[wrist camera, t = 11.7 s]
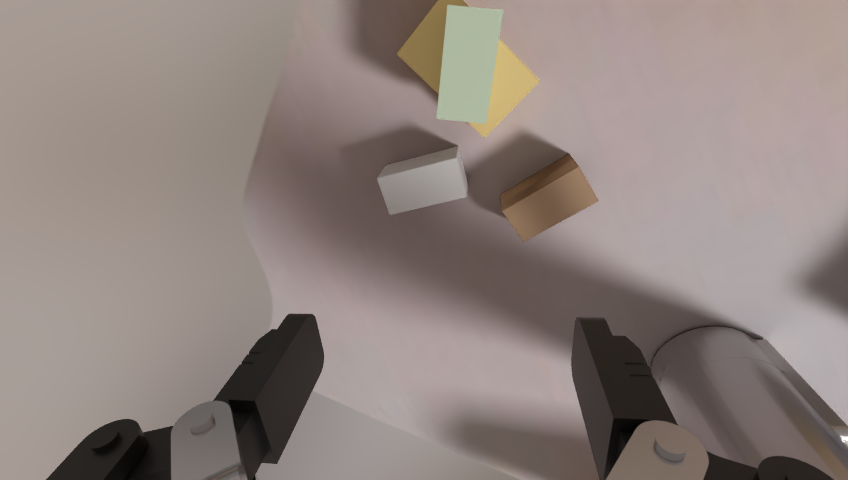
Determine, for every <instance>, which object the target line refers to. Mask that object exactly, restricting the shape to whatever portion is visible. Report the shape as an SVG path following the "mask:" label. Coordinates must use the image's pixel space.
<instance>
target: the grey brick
mask: <svg viewBox="0 0 848 480" xmlns="http://www.w3.org/2000/svg"><path fill="white" fill-rule="evenodd" d="M377 181H378V183H379V186H380V189H381V192H382V195H383V198H384V200H385V203H386V206H387V209H388V212H389V214H390V215H393V214H397V213H401V212H406V211H410V210H414V209H418V208H423V207H427V206H431V205H435V204H440V203H444V202H448V201H452V200H457V199H461V198H465V197H467V186H468V181H467V177H466V174H465V170H464V166H463V162H462V158H461V154H460V150H459V147H458V146H456V147H452V148H449V149H445V150H441V151H437V152H434V153H430V154H426V155H422V156H419V157H415V158H411V159H407V160H403V161H400V162H396V163H392V164H388V165H385V167H384V168H383V170H382V171H381V173H380V174H379V176H378V177H377Z"/></svg>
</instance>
